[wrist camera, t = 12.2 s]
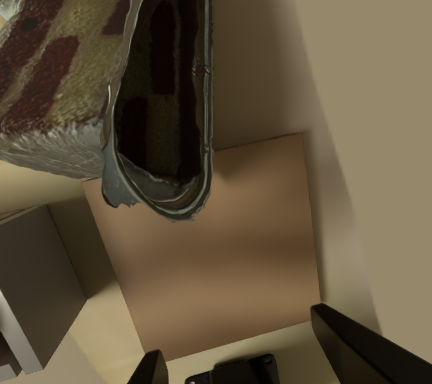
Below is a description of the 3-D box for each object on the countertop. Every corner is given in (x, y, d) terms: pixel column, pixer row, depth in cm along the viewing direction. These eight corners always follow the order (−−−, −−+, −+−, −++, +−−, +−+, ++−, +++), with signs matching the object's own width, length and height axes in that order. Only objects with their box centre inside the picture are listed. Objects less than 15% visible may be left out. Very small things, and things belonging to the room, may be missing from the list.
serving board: (313, 305, 15) (322, 316, 14) (152, 350, 14) (149, 366, 13) (293, 133, 12) (302, 133, 11) (89, 178, 11) (80, 182, 10)
